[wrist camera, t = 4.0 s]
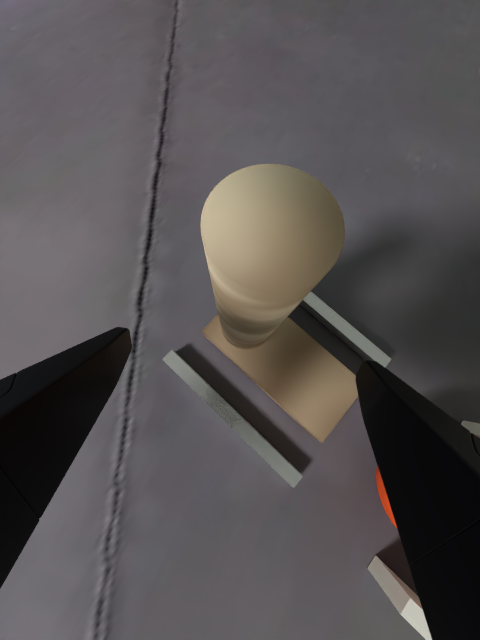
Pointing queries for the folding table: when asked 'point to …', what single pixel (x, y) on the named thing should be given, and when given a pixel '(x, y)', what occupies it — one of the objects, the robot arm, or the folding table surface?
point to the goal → (398, 589)
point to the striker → (276, 287)
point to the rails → (238, 421)
